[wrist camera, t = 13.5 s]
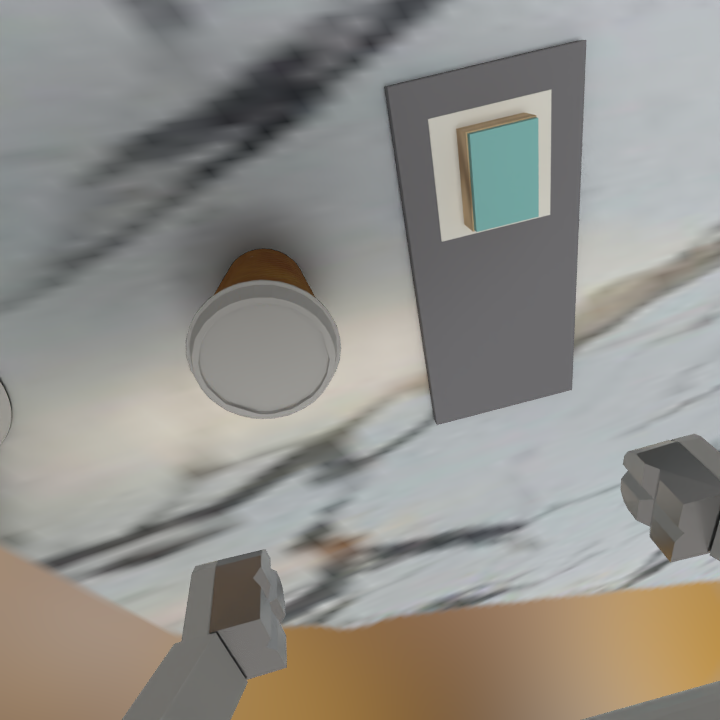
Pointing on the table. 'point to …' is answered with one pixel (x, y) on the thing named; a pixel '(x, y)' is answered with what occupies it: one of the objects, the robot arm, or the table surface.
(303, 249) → the table surface
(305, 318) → the disposable coffee cup
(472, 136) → the teal flat block
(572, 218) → the rubber mat
